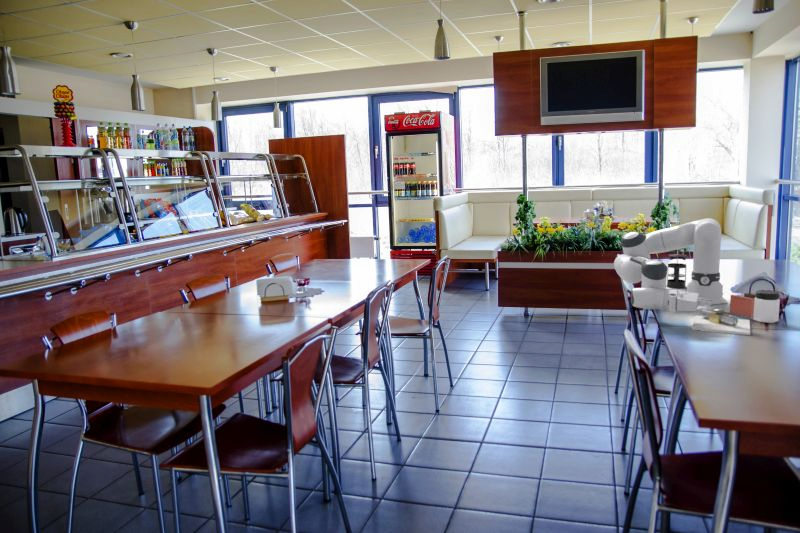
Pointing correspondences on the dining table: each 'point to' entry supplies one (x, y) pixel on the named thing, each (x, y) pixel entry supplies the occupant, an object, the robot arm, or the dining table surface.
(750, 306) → the lever
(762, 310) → the jar
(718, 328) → the mounting plate
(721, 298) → the robot arm
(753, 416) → the dining table surface
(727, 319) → the valve body
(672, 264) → the french press
